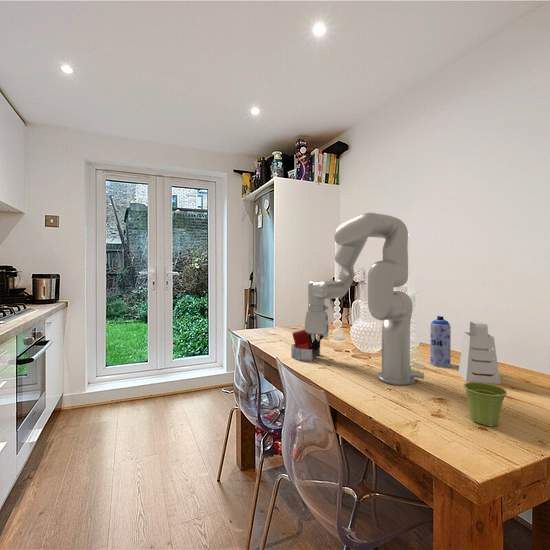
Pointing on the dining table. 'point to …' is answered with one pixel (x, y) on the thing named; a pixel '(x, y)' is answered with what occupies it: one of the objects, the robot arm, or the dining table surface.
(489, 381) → the grater
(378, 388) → the dining table surface
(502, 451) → the dining table surface
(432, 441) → the dining table surface
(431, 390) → the dining table surface
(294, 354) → the duct collar
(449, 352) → the aerosol can
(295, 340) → the canned food
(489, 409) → the plant pot
